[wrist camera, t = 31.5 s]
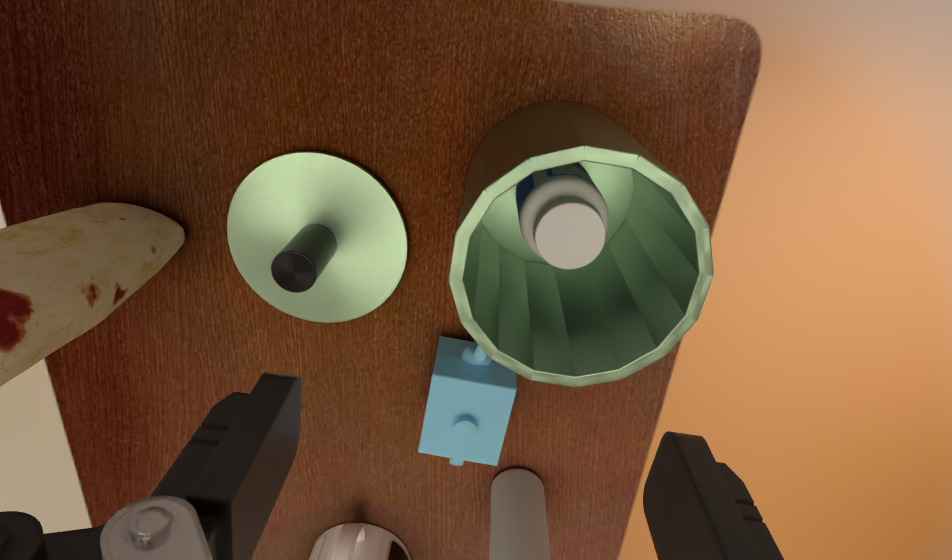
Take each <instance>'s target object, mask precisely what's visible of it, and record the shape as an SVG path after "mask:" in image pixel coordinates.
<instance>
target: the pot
mask: <svg viewBox="0 0 952 560" xmlns="http://www.w3.org/2000/svg"><path fill="white" fill-rule="evenodd" d="M577 162H579V163H580V164H581V165H582V166H583V167H584V168H585V170H586V171H587V172H588V174H589V176H590V177H591V179H592V180H593V182H594V183H595V185H596V187H597V188H598V190H599V191H600V193H601V194H602V196H603V198H604V200H605V202H606V205H607V208H608V213H609V223H608V228H607V232H606V239H605V243H604V246H603V248H602V250H601V252H600V253H599V255H598V256H597V257H596V258H595V259H594V260H593V261H591V262H590V263H589V264H587V265H585V266H583V267H580V268H576V269H561V268H557V267H555V266H553V265H551V264H549V263H548V262H546V261H545V260H544V259H543V258H541V257H539V256H538V255H536V254H535V253H534V252H533V251H532V250H531V249H530V248H529V247H528V246H527V244H526V243H525V241H524V239H523V236H522V234H521V230H520V225H519V218H518V211H517V203H516V187H517V184H518V183H519V182H521V181H522V180H523V179H525V178H526V177H528V176H529V175H531V174H532V173H534V172H536V171H541V170H545V169H550V168H554V167H559V166H563V165H568V164H572V163H577ZM712 278H713V263H712V251H711V239H710V228H709V224H708V223H707V221H706V219H705V218H704V216H703V214H702V213H701V211H700V209H699V208H698V206H697V204H696V203H695V201H694V199H693V198H692V196H691V194H690V193H689V191H688V189H687V188H686V186H685V184H683V183H682V182H681V181H680V180H679V179H678V178H677V177H676V176H675V175H674V174H673V173H672V172H671V171H670V170H669V169H667V168H666V167H665V166H664V165H663V164H662V163H661V162H660V161H659V160H658V159H657V158H656V157H654V156H653V155H652V154H651V153H650V152H649V151H648V150H647V149H646V148H645V147H644V146H643V145H642V144H640V143H639V142H638V141H637V140H636V139H635V138H634V137H633V136H632V135H631V134H630V133H629V132H627V131H626V130H625V129H624V128H623V127H622V126H621V125H620V124H618V123H617V122H615V121H614V120H612V119H611V118H609V117H608V116H606V115H605V114H603V113H602V112H600V111H599V110H597V109H596V108H594V107H592V106H588V105H583V104H579V103H575V102H568V101H559V100H553V101H547V102H541V103H536V104H533V105H530V106H527V107H524V108H520V109H518V110H517V111H515V112H513V113H512V114H510V115H509V116H507V117H506V118H504V119H503V120H502V121H500V122H499V123H498V124H497V125H496V126H495V127H493V128H492V129H491V130H490V131H489V132H488V133H487V135H486V137H485V138H484V139H483V141H482V142H481V144H480V145H479V147H478V149H477V151H476V153H475V154H474V156H473V158H472V159H471V161H470V166H469V171H468V176H467V181H466V185H465V190H464V195H463V200H462V205H461V209H460V214H459V219H458V224H457V228H456V233H455V240H454V246H453V253H452V259H451V266H450V272H449V284H450V287H451V291H452V294H453V298H454V301H455V305H456V309H457V312H458V316H459V319H460V323H461V324H462V325H463V327H464V328H465V329H466V330H467V332H468V333H469V334H470V335H471V336H472V338H473V339H474V340H475V341H476V343H477V344H478V345H479V346H480V347H481V349H482V350H483V351H484V352H485V354H486V355H487V356H488V357H489V358H490V359H492V360H494V361H495V362H497V363H499V364H501V365H503V366H505V367H506V368H508V369H510V370H512V371H514V372H515V373H517V374H519V375H521V376H523V377H525V378H526V379H528V380H529V379H530V380H531V381H538V382H544V383H550V384H557V385H563V386H570V387H581V386H587V385H593V384H598V383H604V382H610V381H616V380H621V379H622V378H623V379H624V378H626V377H628V376H630V375H632V374H633V373H635V372H637V371H639V370H641V369H643V368H644V367H646V366H648V365H650V364H652V363H654V362H655V361H657V360H659V359H661V358H663V357H664V356H665V355H667V354H668V353H669V351H670V350H671V349H672V348H673V347H674V346H675V345H676V344H677V342H678V341H679V340H680V339H681V338H682V337H683V336H684V335H685V333H686V332H687V331H688V330H689V329H690V328H691V327H692V325H693V324H694V323H695V322H696V321H697V320H698V317H699V315H700V312H701V309H702V306H703V303H704V301H705V298H706V295H707V292H708V289H709V287H710V284H711V281H712Z"/></svg>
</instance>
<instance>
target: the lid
mask: <svg viewBox="0 0 952 560" xmlns="http://www.w3.org/2000/svg"><path fill="white" fill-rule="evenodd" d="M227 237H228V243H229V247H230V251H231V254H232V257H233V260H234V262H235V264H236V266H237V268H238V270H239V272H240V273H241V275H242V276H243V278H244V279H245V281H246V282H247V283H248V284H249V285H250V287H251V288H252V289H253V290H254V291H255V292H256V293H257V294H258V295H259V296H260V297H261V298H263V299H264V300H265V301H267V302H268V303H269V304H271V305H272V306H274V307H275V308H277V309H279V310H280V311H283V312H285V313H287V314H289V315H291V316H294V317H297V318H300V319H304V320H308V321H313V322H323V323H334V322H342V321H348V320H352V319H355V318H358V317H361V316H363V315H366V314H368V313H369V312H371V311H373V310H375V309H376V308H377V307H379V306H380V305H381V304H383V303H384V302H385V301H386V300H387V299H388V298H389V297H390V296H391V294H392V293H393V292H394V290H395V289H396V287H397V286H398V284H399V282H400V280H401V278H402V276H403V273H404V270H405V267H406V263H407V257H408V234H407V229H406V225H405V221H404V218H403V216H402V213H401V210H400V208H399V207H398V205H397V203H396V201H395V199H394V198H393V196H392V195H391V194H390V192H389V191H388V189H387V188H386V187H385V186H384V185H383V184H382V183H381V182H380V181H379V180H378V179H377V178H376V177H375V176H374V175H372V174H371V173H370V172H369V171H367V170H366V169H364V168H363V167H361V166H360V165H358V164H356V163H354V162H352V161H350V160H348V159H346V158H343V157H340V156H338V155H334V154H330V153H326V152H319V151H296V152H290V153H285V154H282V155H279V156H276V157H274V158H272V159H270V160H268V161H266V162H264V163H262V164H261V165H259V166H258V167H256V168H255V169H254V170H253V171H251V172H250V173H249V174H248V175H247V176H246V177H245V178H244V180H243V181H242V182H241V184H240V185H239V186H238V188H237V190H236V192H235V194H234V195H233V198H232V201H231V203H230V206H229V211H228V216H227Z"/></svg>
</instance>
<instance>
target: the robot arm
mask: <svg viewBox="0 0 952 560" xmlns="http://www.w3.org/2000/svg"><path fill="white" fill-rule="evenodd" d="M300 409H301V378H300V377H297V376H290V375H283V374H276V373H269V372H264V373H263V374H262V376H261V377H260V379H259V380H258V382H257V383H256V385H255V387H254V388H253V390H252V391H251V393H250V394H246V393H239V392H233V393H232V394H230V395H229V396H227V397H226V398H224V399H223V400H221V401H220V402H218V403H217V404H215V405H214V406H213V408H212V409H211V410H210V412H209V413H208V415H207V416H206V418H205V419H204V420H203V422H202V425H201V427H199V428H198V429H197V430H196V432H195V433H194V435H193V436H192V439H191V441H189V442H188V443H187V445H186V446H185V448H184V449H183V450H182V452H181V453H180V455H179V456H178V458H177V459H176V460H175V462H174V463H173V465H172V466H171V468H170V469H169V470H168V472H167V473H166V475H165V476H164V478H163V479H162V480H161V482H160V483H159V485H158V486H157V488H156V489H155V490H154V492H153V493H152V495H151V496H150V497H148V498H144V499H141V500H138V501H135V502H133V503H131V504H129V505H127V506H126V507H124V508H122V509H121V510H119V511H118V512H117V513H116V514H114V515H113V516H112V517H111V519H110V520H109V521H108V522H107V524H106V525H102V526H99V527H93V528H87V529H79V530H71V531H64V532H55V533H48V534H43V530H42V526H41V524H40V522H39V521H38V520H37V519H36V518H35V517H33V516H32V515H30V514H27V513H23V512H17V511H15V512H14V511H13V512H12V511H7V512H0V560H250V559H251V557H252V555H253V552H254V550H255V548H256V546H257V543H258V541H259V539H260V537H261V534H262V532H263V530H264V527H265V525H266V523H267V521H268V518H269V516H270V514H271V511H272V509H273V507H274V505H275V502H276V500H277V498H278V496H279V493H280V491H281V489H282V486H283V484H284V482H285V480H286V477H287V475H288V473H289V470H290V468H291V466H292V464H293V461H294V458H295V455H296V451H297V447H298V442H299V434H300ZM643 506H644V513H645V516H646V520H647V523H648V526H649V530H650V533H651V536H652V540H653V543H654V547H655V550H656V553H657V557H658V560H784V559H783V557H782V555H781V553H780V551H779V549H778V547H777V545H776V543H775V541H774V539H773V538H772V536H771V534H770V532H769V530H768V528H767V526H766V524H765V523H763V522H762V517H761V515H760V513H759V511H758V509H757V507H756V506H754V502H753V499H752V498H751V496H750V494H749V492H748V490H747V488H746V486H745V484H744V482H743V481H742V480H741V479H740V478H739V477H738V476H737V475H736V474H735V473H734V472H733V471H732V470H731V469H730V468H729V467H728V466H727V465H726V464H725V463H719V462H716V461H715V459H714V457H713V455H712V453H711V451H710V448H709V446H708V444H707V442H706V441H705V439H704V438H703V437H702V436H696V435H689V434H682V433H676V432H666V433H665V434H664V435H663V437H662V439H661V442H660V444H659V447H658V450H657V453H656V455H655V458H654V461H653V464H652V466H651V469H650V472H649V475H648V478H647V480H646V483H645V487H644V493H643Z"/></svg>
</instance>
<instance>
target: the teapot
mask: <svg viewBox="0 0 952 560" xmlns="http://www.w3.org/2000/svg"><path fill="white" fill-rule="evenodd" d="M516 390H517V382H516V373H515V372H514V371H512V370H510V369H508V368H506V367H505V366H503V365H501V364H499V363H497V362H495V361H494V360H492V359H490V358H489V357H488V356H487V355H486V354H485V352H484V351H483V350H482V349H481V347H480V346H479V345H478V344H477V343H476V342H471V341H465V340H460V339H454V338H449V337H443V336H440V337H439V343H438V348H437V353H436V358H435V363H434V368H433V374H432V379H431V384H430V390H429V395H428V401H427V406H426V412H425V417H424V422H423V428H422V433H421V439H420V444H419V449H418V452H419V453H426V454H431V455H437V456H442V457H448V458H449V462H450V464H452V465H455V466H461V465H462V464H463V462H464V461H471V462H477V463H483V464H489V465H494V466H497V464H498V460H499V456H500V452H501V448H502V444H503V440H504V436H505V433H506V429H507V425H508V421H509V417H510V413H511V409H512V405H513V402H514V398H515V394H516Z"/></svg>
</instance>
